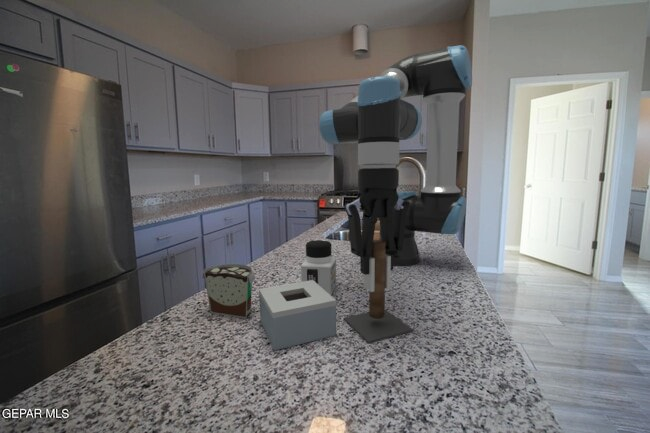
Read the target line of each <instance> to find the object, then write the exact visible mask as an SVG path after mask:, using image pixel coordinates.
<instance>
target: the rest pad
mask: <svg viewBox="0 0 650 433" xmlns="http://www.w3.org/2000/svg"><path fill="white" fill-rule="evenodd" d="M343 320H344V321H345V323H346V324H347V325H349V326H350V328H352V329H353V330H354V332H356V333H357V334H358V336H360V337H361V338H362V339H363V340H364V341H365V342H366V343H367V344H371V343H375V342H379V341H382V340H386V339H390V338H394V337H397V336H401V335H405V334H408V333H412V332H414V329H413V328H412V327H410V326H409V325H407V323H405V322H403V321H402V320H401V319H399V318H398V317H396V316H395V315H393V314H392V313H391V312H389V311H388V310H387V309H385V316H384V317H383V318H381V319H375V318H372V317H370V316H369V311H367V312H363V313H362V312H361V313H359V314H354V315H350V316H345V317H343Z"/></svg>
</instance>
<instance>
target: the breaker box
mask: <svg viewBox="0 0 650 433" xmlns="http://www.w3.org/2000/svg"><path fill="white" fill-rule="evenodd" d="M258 301H259V302H258V303H259V318H260V323H261V325H262V327H263V330H264V332H265V333H266V336H267V338H268V340H269V342H270V344H271V346H272V349H273V350H274V351H278V350H282V349H285V348H291V347H296V346H298V345H303V344H307V343H310V342H314V341H315V342H316V341H318V340H323V339H326V338H331V337H335V336H337V299H336V298H334V297H333V296H332V295H329V294H328V293H327V292H326V291H325V290H324V289H323V288H321V287H320V286H319V285H318V284H317V283H316V282H315V281H314V280H310V281H304V282H301V281H299V282H298V281H297V282H292V283H287V284H281V285H275V286H269V287H263V288H258Z"/></svg>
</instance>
